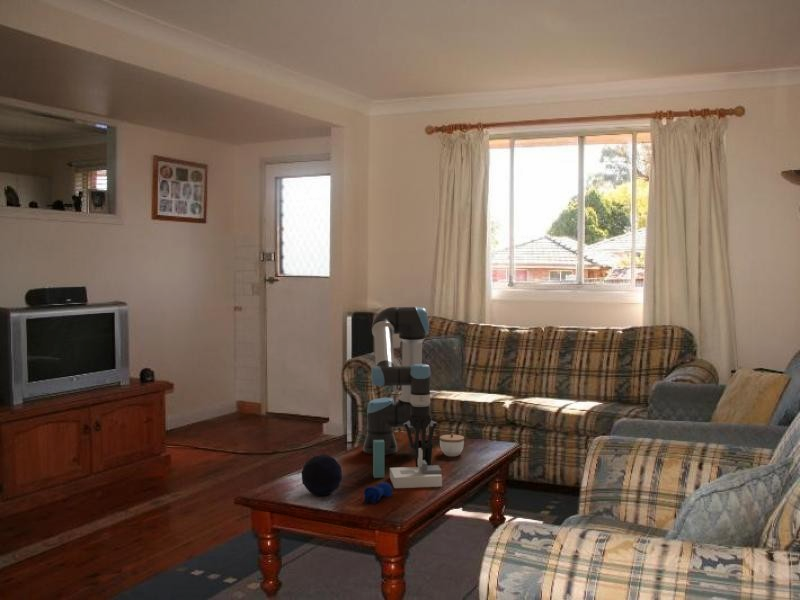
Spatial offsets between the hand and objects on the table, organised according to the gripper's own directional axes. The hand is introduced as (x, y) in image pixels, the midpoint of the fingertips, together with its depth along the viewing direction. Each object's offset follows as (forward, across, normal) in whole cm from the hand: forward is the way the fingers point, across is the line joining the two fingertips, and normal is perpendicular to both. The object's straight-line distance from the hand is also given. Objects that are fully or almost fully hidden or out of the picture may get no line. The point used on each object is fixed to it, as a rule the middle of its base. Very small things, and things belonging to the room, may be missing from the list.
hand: (419, 465), depth 301 cm
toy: (+7, -18, -18) cm, 26 cm away
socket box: (+6, -2, 0) cm, 6 cm away
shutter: (+2, +4, 0) cm, 5 cm away
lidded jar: (+6, +21, +40) cm, 46 cm away
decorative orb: (+7, -38, -11) cm, 40 cm away
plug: (+6, -15, +10) cm, 19 cm away
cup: (+6, +4, +14) cm, 16 cm away
